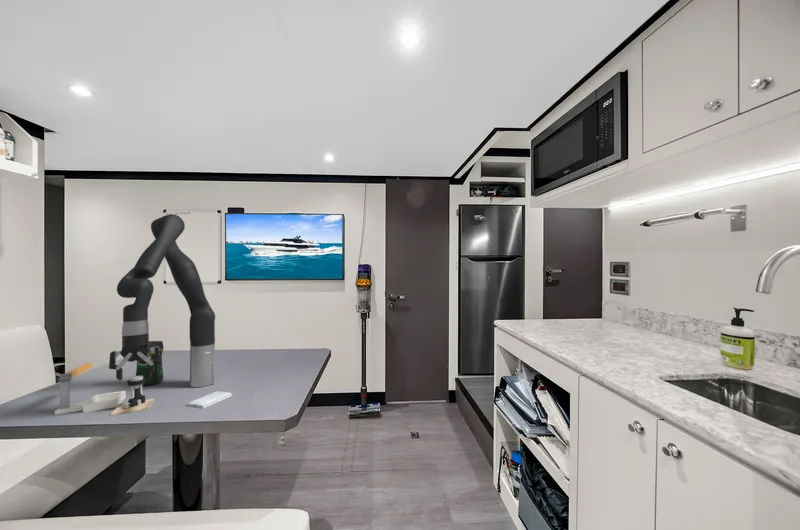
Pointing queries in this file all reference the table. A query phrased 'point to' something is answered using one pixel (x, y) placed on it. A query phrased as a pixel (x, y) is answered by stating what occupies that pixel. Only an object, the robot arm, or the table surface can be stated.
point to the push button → (136, 391)
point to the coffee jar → (158, 370)
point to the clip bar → (75, 372)
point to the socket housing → (90, 405)
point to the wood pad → (122, 410)
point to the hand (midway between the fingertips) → (135, 377)
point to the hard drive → (209, 399)
